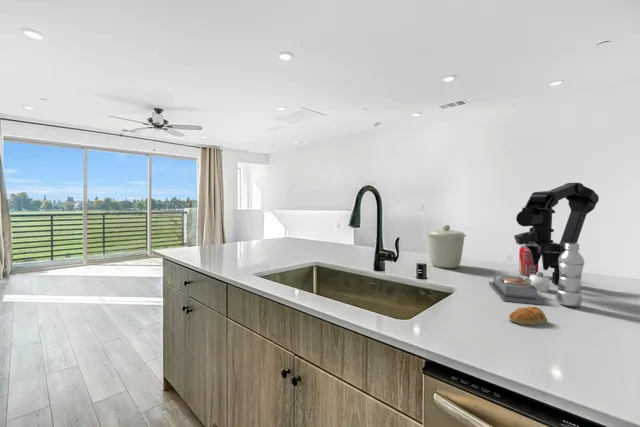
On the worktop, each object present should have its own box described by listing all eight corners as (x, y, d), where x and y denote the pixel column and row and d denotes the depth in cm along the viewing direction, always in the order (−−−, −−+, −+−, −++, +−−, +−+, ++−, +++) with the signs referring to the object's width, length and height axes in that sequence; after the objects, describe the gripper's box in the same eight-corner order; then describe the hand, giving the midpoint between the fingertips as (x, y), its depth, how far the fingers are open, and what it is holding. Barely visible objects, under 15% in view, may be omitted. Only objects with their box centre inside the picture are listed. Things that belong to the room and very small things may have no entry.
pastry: (525, 329, 78) (525, 315, 77) (501, 319, 84) (502, 306, 84) (549, 324, 81) (549, 310, 81) (524, 315, 87) (525, 302, 87)
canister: (472, 270, 140) (473, 226, 139) (433, 270, 140) (434, 226, 139) (455, 262, 158) (456, 223, 157) (421, 262, 158) (422, 222, 157)
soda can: (541, 277, 129) (543, 247, 129) (525, 277, 130) (526, 247, 129) (530, 273, 137) (531, 245, 136) (514, 272, 137) (516, 245, 136)
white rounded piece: (545, 288, 113) (545, 271, 113) (551, 293, 108) (552, 275, 107) (526, 286, 115) (527, 270, 115) (532, 291, 109) (533, 273, 109)
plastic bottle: (575, 303, 97) (578, 242, 96) (586, 310, 90) (590, 245, 89) (552, 300, 99) (554, 241, 98) (560, 307, 93) (564, 244, 92)
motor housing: (521, 287, 114) (521, 272, 114) (542, 304, 95) (543, 287, 95) (488, 284, 117) (489, 270, 117) (503, 301, 98) (504, 284, 98)
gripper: (509, 222, 122) (508, 260, 122) (525, 227, 104) (524, 271, 105) (541, 223, 118) (539, 262, 119) (564, 228, 100) (561, 273, 101)
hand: (540, 267), depth 111 cm, fingers open, 9 cm apart
